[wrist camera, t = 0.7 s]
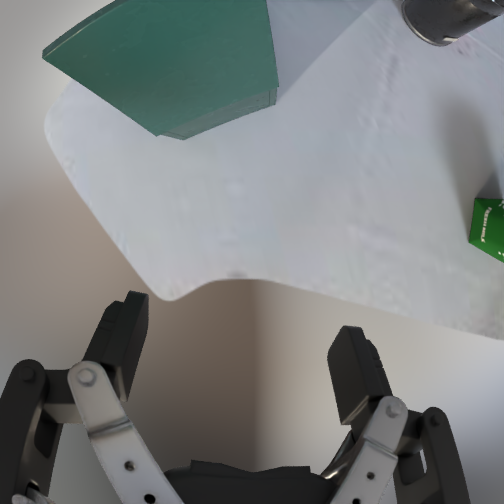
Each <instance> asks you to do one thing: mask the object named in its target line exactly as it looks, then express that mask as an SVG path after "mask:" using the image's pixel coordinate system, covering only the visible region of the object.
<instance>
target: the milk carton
mask: <svg viewBox="0 0 504 504" xmlns="http://www.w3.org/2000/svg"><path fill="white" fill-rule="evenodd" d="M469 243H470V244H472V245H474V246H476V247H477V248H479V249H481V250H482V251H484V252H486V253H487V254H489V255H491V256H493V257H494V258H496V259H498V260H500V261H501V262H503V263H504V200H503V199H479V198H475V203H474V211H473V218H472V225H471V231H470V237H469Z"/></svg>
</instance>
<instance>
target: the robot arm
mask: <svg viewBox="0 0 504 504" xmlns="http://www.w3.org/2000/svg"><path fill="white" fill-rule="evenodd" d="M402 13H403V16H404V19H405V21H406V23H407V24H408V26H409V27H410V28H411V30H412V31H413V32H414V33H415V34H416V35H417V36H418V37H420V38H421V39H422V40H424V41H426V42H427V43H430V44H432V45H435V46H446V45H448V44H450V43H452V42H453V41H457V40H459V39H458V38H459V37H461V36H463V35H465V34H467V33H468V32H470V31H472V30H474V29H476V28H477V27H479V26H481V25H483V24H485V23H487V22H489V21H490V20H492V19H494V18H496V17H498V16H500V15H502V14H504V0H405V1H404V2H403V5H402ZM148 300H149V299H148V294H145V293H140V292H135V291H129V292H128V294H127V297H126V299H125V301H124V302H119V301H114V302H113V303H112V304H111V305H109V306H108V307H107V308H106V309H105V312H104V314H103V316H102V318H101V320H100V322H99V324H98V327H97V328H96V331H95V333H94V335H93V337H92V339H91V342H90V344H89V346H88V348H87V351H86V353H85V356H84V358H83V359H82V361H81V362H78V363H76V364H75V365H73V366H72V367H71V368H70V369H67V370H45V369H44V367H43V366H42V365H41V364H40V363H39V362H38V361H35V360H32V359H27V360H22V361H20V362H19V363H17V364H16V365H15V366H14V368H13V369H12V372H11V374H10V376H9V379H8V381H7V383H6V386H5V388H4V390H3V393H2V395H1V398H0V504H55V502H54V501H52V500H51V499H50V498H48V494H49V487H50V482H51V477H52V472H53V467H54V462H55V457H56V453H57V449H58V444H59V440H60V436H61V432H62V428H63V424H64V423H73V424H77V423H79V424H84V426H85V428H86V430H87V433H88V437H89V439H90V442H91V444H92V446H93V448H94V450H95V452H96V454H97V457H98V459H99V461H100V463H101V465H102V467H103V469H104V471H105V473H106V474H107V476H108V478H109V480H110V482H111V484H112V485H113V487H114V489H115V491H116V492H117V494H118V496H119V498H120V499H121V501H122V503H123V504H379V502H380V500H381V498H382V496H383V494H384V492H385V490H386V488H387V485H388V483H389V481H390V479H391V476H392V474H393V478H394V485H395V491H396V497H397V504H470V499H469V494H468V490H467V486H466V481H465V477H464V473H463V469H462V465H461V461H460V458H459V454H458V451H457V447H456V444H455V441H454V437H453V434H452V431H451V428H450V425H449V421H448V419H447V416H446V414H445V413H444V412H443V411H442V410H441V409H439V408H436V407H430V408H428V409H427V410H426V411H424V412H423V413H420V412H416V411H412V410H408V409H407V407H406V405H405V403H404V402H403V401H402V400H401V399H399V398H397V397H395V396H393V394H392V391H391V388H390V385H389V382H388V379H387V377H386V374H385V371H384V368H382V367H383V365H382V362H381V360H380V357H379V354H378V352H377V349H376V348H375V346H374V345H373V344H372V343H371V341H370V340H367V339H366V338H365V335H364V333H363V330H362V328H361V327H353V326H343V327H342V328H341V329H340V332H339V333H338V335H337V336H336V338H335V340H334V342H333V343H332V345H331V347H330V349H329V351H328V356H327V358H328V359H327V361H328V366H329V371H330V375H331V379H332V384H333V389H334V393H335V397H336V403H337V408H338V412H339V418H340V422H341V425H351V428H352V430H350V431H349V433H348V434H347V436H346V438H345V440H344V441H343V443H342V445H341V447H340V448H339V450H338V452H337V453H336V455H335V457H334V458H333V460H332V461H331V463H330V464H329V466H328V467H327V468H326V469H325V470H324V471H323V472H322V473H321V475H317V474H314V473H311V472H310V466H293V467H292V466H290V467H289V466H287V467H278V468H274V469H269V470H265V471H260V472H254V473H253V472H248V471H245V470H241V469H238V468H234V467H231V466H228V465H224V464H222V463H212V462H203V461H195V460H191V463H190V466H182V467H177V468H173V469H170V470H168V471H165V472H162V471H161V469H160V468H159V466H158V465H157V463H156V462H155V460H154V458H153V457H152V455H151V453H150V452H149V450H148V448H147V447H146V445H145V443H144V442H143V440H142V438H141V437H140V435H139V433H138V432H137V429H136V428H135V426H134V424H133V423H132V422H131V421H130V420H129V419H128V417H127V415H126V414H125V412H124V410H123V408H122V406H121V404H120V402H119V401H120V400H121V401H125V402H127V401H128V397H129V393H130V389H131V386H132V382H133V379H134V375H135V371H136V368H137V365H138V361H139V358H140V354H141V351H142V348H143V344H144V341H145V338H146V334H147V330H148ZM422 449H423V452H424V456H425V460H426V465H427V470H426V473H424V469H423V464H422V460H421V456H420V450H422Z"/></svg>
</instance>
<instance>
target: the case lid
mask: <svg viewBox="0 0 504 504" xmlns="http://www.w3.org/2000/svg"><path fill="white" fill-rule="evenodd" d="M42 54H43V55H42V58H43V59H44V60H45V61H47V62H49V63H50V64H52V65H53V66H55V67H56V68H58V69H59V70H61V71H63V72H64V73H65V74H67V75H68V76H70V77H71V78H73V79H74V80H76V81H77V82H79V83H80V84H82V85H83V86H85V87H86V88H88V89H89V90H91V91H92V92H94V93H95V94H96V95H98V96H99V97H101V98H102V99H104V100H105V101H107V102H108V103H110V104H111V105H112V106H114V107H115V108H117V109H118V110H120V111H121V112H122V113H124V114H125V115H127V116H128V117H130V118H131V119H132V120H134V121H135V122H137V123H138V124H139V125H141V126H142V127H144V128H145V129H147V130H148V131H149V132H151V133H152V134H153V135H155V136H159V135H161V134H163V133H165V132H167V131H169V130H171V129H173V128H176V127H178V126H180V125H182V124H184V123H187V122H189V121H191V120H193V119H196V118H198V117H200V116H203V115H205V114H207V113H210V112H212V111H215V110H217V109H220V108H222V107H225V106H227V105H230V104H232V103H235V102H238V101H240V100H243V99H246V98H249V97H251V96H254V95H257V94H260V93H263V92H266V91H269V90H272V89H275V88H278V87H279V82H278V74H277V67H276V60H275V54H274V47H273V40H272V34H271V28H270V21H269V15H268V10H267V4H266V0H115V1H113V2H112V3H110V4H108V5H107V6H105V7H103V8H102V9H100V10H98V11H97V12H95V13H94V14H92V15H91V16H89V17H87V18H86V19H84V20H83V21H82V22H80V23H78V24H77V25H76V26H74V27H73V28H71V29H70V30H69V31H67V32H66V33H64V34H63V35H62V36H60V37H59V38H58V39H56V40H55V41H54V42H52V43H51V44H50V45H49V46H48V47H46V48H45V49H44V50H43V53H42Z"/></svg>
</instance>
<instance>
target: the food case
mask: <svg viewBox="0 0 504 504" xmlns="http://www.w3.org/2000/svg"><path fill="white" fill-rule="evenodd" d="M276 94H277V88H275V89H272V90H269V91H266V92H263V93H260V94H257V95H254V96H251V97H249V98H246V99H243V100H240V101H238V102H235V103H232V104H230V105H227V106H225V107H222V108H220V109H217V110H215V111H212V112H210V113H207V114H205V115H203V116H200V117H198V118H196V119H193V120H191V121H189V122H187V123H184V124H182V125H180V126H178V127H176V128H173V129H171V130H169V131H167V132H165V133H163V134H161V135H164V136H168V137H172V138H176V139H180V140H185V139H188V138H190V137H192V136H195V135H197V134H199V133H202V132H204V131H206V130H209V129H211V128H214V127H216V126H218V125H221V124H223V123H226V122H229V121H231V120H234V119H236V118H239V117H242V116H244V115H247V114H250V113H252V112H255V111H258V110H261V109H264V108H267V107H270V106H272V105H275V102H276Z"/></svg>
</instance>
